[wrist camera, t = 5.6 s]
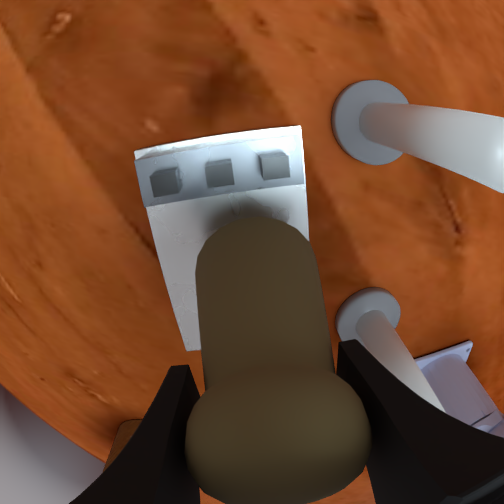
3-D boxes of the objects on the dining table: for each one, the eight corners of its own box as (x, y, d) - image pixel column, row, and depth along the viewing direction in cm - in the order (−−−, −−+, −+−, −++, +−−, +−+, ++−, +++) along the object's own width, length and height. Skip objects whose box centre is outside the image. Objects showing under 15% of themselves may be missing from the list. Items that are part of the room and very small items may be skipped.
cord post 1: (406, 160, 18) (537, 223, 8) (334, 164, 18) (447, 239, 8) (402, 82, 16) (546, 90, 6) (327, 80, 16) (450, 65, 6)
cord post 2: (390, 332, 24) (451, 436, 15) (334, 345, 24) (380, 463, 14) (398, 281, 22) (480, 387, 12) (335, 293, 22) (400, 419, 12)
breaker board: (309, 326, 23) (322, 364, 20) (187, 343, 23) (183, 383, 19) (297, 125, 17) (317, 130, 13) (137, 149, 17) (116, 161, 13)
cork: (308, 320, 18) (360, 510, 8) (197, 320, 17) (181, 522, 8) (324, 218, 15) (443, 422, 5) (192, 215, 14) (136, 447, 5)
